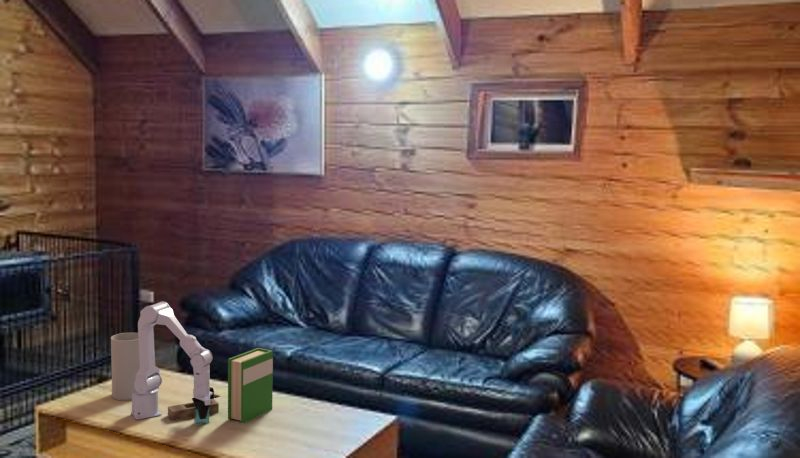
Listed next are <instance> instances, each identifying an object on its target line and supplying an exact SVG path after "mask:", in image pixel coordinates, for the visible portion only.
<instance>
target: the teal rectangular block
mask: <svg viewBox="0 0 800 458" xmlns="http://www.w3.org/2000/svg"><path fill="white" fill-rule="evenodd" d="M193 421H194V422H193V423H194V425H196V426H197V425H205V424H207V423H210V414H209V409H208V413H207V417H206V419H200V417H199V410H198V407H194V417H193Z"/></svg>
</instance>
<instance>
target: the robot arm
mask: <svg viewBox="0 0 800 458" xmlns="http://www.w3.org/2000/svg"><path fill="white" fill-rule="evenodd" d="M173 309H174V308H171V306H170V305H169V303H168V302H167V301H159V302H157V303H154V304H151V305H146V306H144V307H143V308H142V309H141V310H140V312H139V313H140V316H139V318H138V321H137V333H138V336H139V355H140V369H139V371H138V372H137V374H136V380H135V382H134V388H135V390H136V392H137V393H135V394H133V395H132V400H131V412H130V413H131V415H132V416H133V417H134V418H135V420H142V419H147V418H153V417H159V416H162V413H161V412H160V410H159V389H160V388H159V387H160V386H161V385H162V383H163V378H162V375H161V373H160V368H159V367H157V366H156V354H155V331H154V326H156V325H160V326H161V325H162V326H166V327H167V328H168V329H169V331H171V333H173V335H174V336H175V337H176V338H178V340H179V346H180V348H182V349H183V351H184V352H185V353H186V354H187V356H188V357H189V358H190V360H189V362H190V365H191V367H192V368H193V369H192V371H193V389H192V395H193V397H192V398H191V400H192V402H194V405H195V407H198V410H199V417H200V419H206V417H207V413H208V409H209V407H210V405H211V403H212V401H211V399H210V395H213V393H212V392H210V387H211V386H210V382H211V381H210V380H211V379H210V372H211V371H210V370H211V369H210V368H211V366H210V364H211V362H212V361H213V353H212V352H211V350H209V349H207V348H205V347H203V346H202V345H201V344H200V343H199V341H198V340H197V338H196V336H194V335H193V334H188V332H187V331H186V330H185V329H184V327H183V325H181V323H180V322H179V320H178V319H177V317H176V316H175V314H174V310H173Z"/></svg>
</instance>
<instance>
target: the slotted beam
mask: <svg viewBox="0 0 800 458" xmlns="http://www.w3.org/2000/svg"><path fill="white" fill-rule="evenodd" d="M211 401H212V403H211V405H210V407H209V415H211V414H215V413H219V407H220V405H219V402H218V401H217V400H216V399H211ZM194 407H195V405H194V402H193V401H192V402H188V403H187V402H186V403H182V404H176V405H169V406H167V416H168V418H169V419H170V420H171V421H177V420H178V421H179V420H185V419H189V418H194Z"/></svg>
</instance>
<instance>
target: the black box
mask: <svg viewBox="0 0 800 458" xmlns="http://www.w3.org/2000/svg"><path fill="white" fill-rule="evenodd" d="M210 392H212V393H213V395H210V399H214V398H215V399H217V398H220V397H221V395H219V394H215V390H214V387H213V386H212V387H211V386H210ZM215 399H214V400H215Z"/></svg>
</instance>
